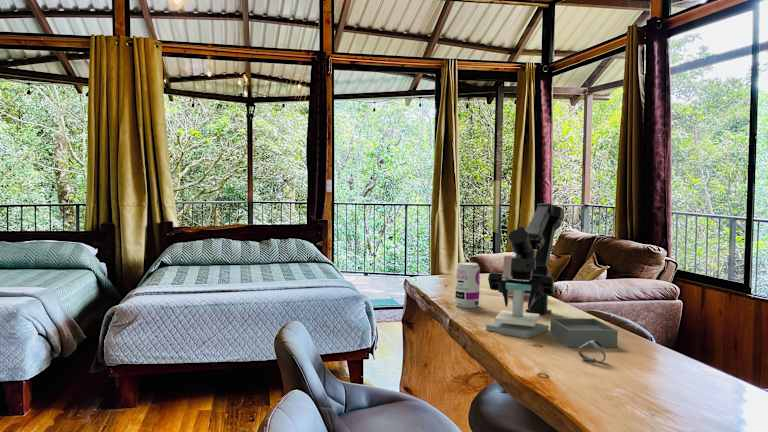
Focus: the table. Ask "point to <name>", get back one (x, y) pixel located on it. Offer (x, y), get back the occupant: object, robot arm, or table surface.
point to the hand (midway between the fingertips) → (517, 307)
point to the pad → (517, 329)
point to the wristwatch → (597, 346)
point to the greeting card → (509, 272)
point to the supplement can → (467, 285)
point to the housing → (583, 332)
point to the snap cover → (517, 308)
